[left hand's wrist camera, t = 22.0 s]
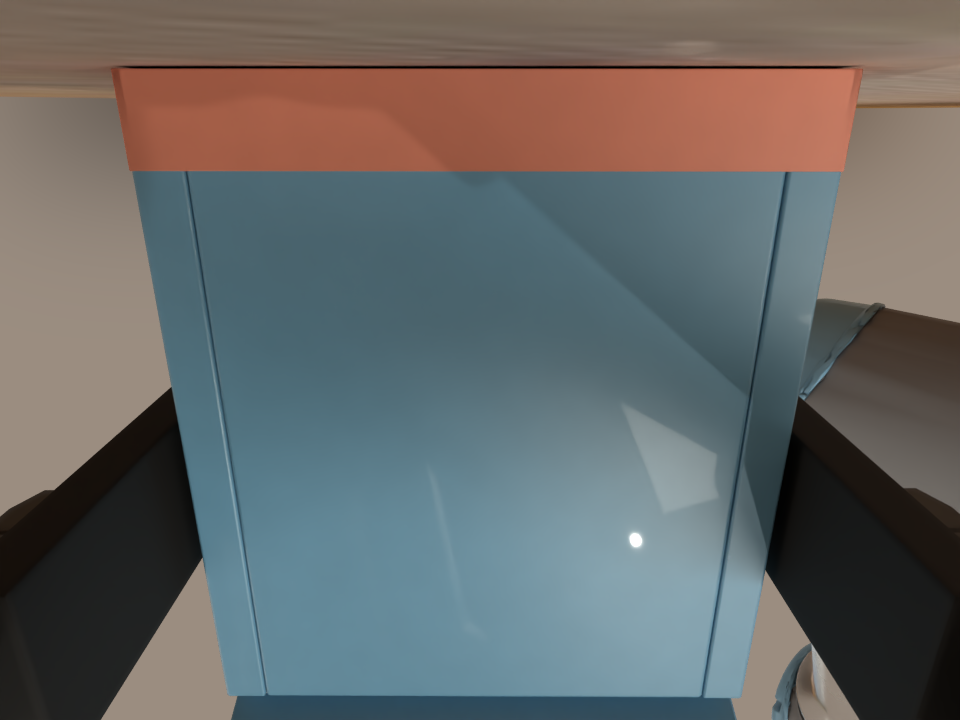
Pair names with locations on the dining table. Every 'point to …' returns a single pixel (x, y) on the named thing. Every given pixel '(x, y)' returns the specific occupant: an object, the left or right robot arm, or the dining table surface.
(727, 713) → the lid
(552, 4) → the dining table surface
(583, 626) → the chest
